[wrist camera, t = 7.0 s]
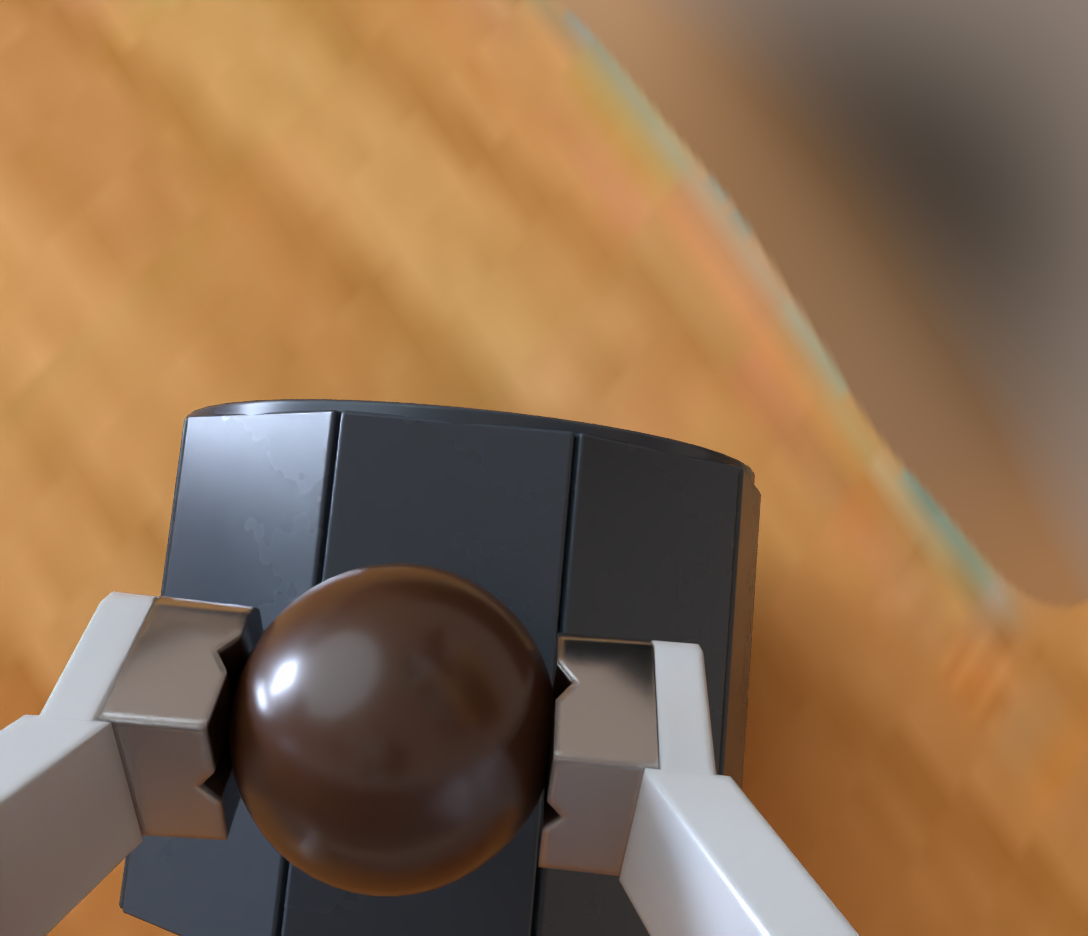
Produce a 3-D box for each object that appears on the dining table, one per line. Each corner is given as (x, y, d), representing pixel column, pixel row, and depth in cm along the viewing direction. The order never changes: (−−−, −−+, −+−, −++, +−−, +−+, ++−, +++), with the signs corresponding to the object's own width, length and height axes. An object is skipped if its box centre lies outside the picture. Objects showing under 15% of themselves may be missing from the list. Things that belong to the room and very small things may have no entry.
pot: (686, 838, 25) (1017, 1314, 8) (214, 796, 25) (-392, 1199, 8) (710, 505, 26) (1047, 348, 9) (255, 463, 26) (-212, 229, 9)
